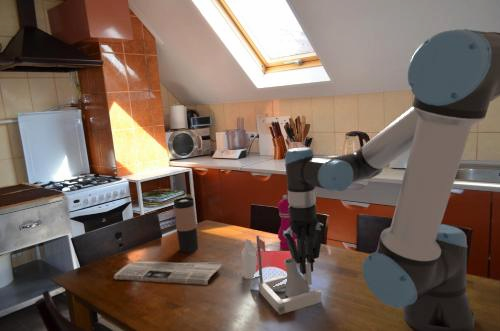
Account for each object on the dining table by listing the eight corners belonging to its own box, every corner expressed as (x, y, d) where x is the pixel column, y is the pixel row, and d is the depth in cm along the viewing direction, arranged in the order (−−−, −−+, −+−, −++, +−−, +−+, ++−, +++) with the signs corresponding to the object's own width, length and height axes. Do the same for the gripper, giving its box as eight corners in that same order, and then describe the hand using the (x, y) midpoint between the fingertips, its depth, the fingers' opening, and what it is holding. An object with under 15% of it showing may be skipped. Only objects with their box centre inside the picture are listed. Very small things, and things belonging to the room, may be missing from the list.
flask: (307, 282, 109) (299, 251, 107) (312, 295, 102) (304, 263, 100) (283, 288, 110) (275, 258, 107) (287, 302, 103) (278, 270, 100)
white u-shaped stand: (321, 302, 101) (318, 242, 98) (279, 314, 96) (275, 252, 94) (296, 281, 114) (293, 227, 111) (258, 291, 109) (254, 235, 107)
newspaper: (114, 280, 125) (112, 270, 125) (135, 264, 137) (133, 255, 137) (212, 286, 116) (211, 276, 115) (225, 269, 127) (224, 259, 127)
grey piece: (253, 243, 115) (236, 242, 116) (256, 280, 116) (239, 278, 118) (259, 236, 120) (243, 235, 122) (262, 271, 122) (246, 270, 124)
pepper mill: (276, 249, 139) (273, 197, 136) (280, 242, 146) (277, 192, 143) (296, 250, 137) (292, 197, 134) (299, 243, 144) (296, 192, 141)
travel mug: (177, 248, 149) (171, 199, 146) (195, 243, 152) (190, 196, 149) (182, 254, 142) (176, 203, 139) (201, 249, 145) (196, 199, 142)
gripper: (315, 196, 109) (319, 272, 113) (275, 205, 105) (281, 283, 109) (329, 202, 102) (333, 282, 106) (287, 211, 98) (293, 294, 102)
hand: (307, 282), depth 107 cm, fingers closed
